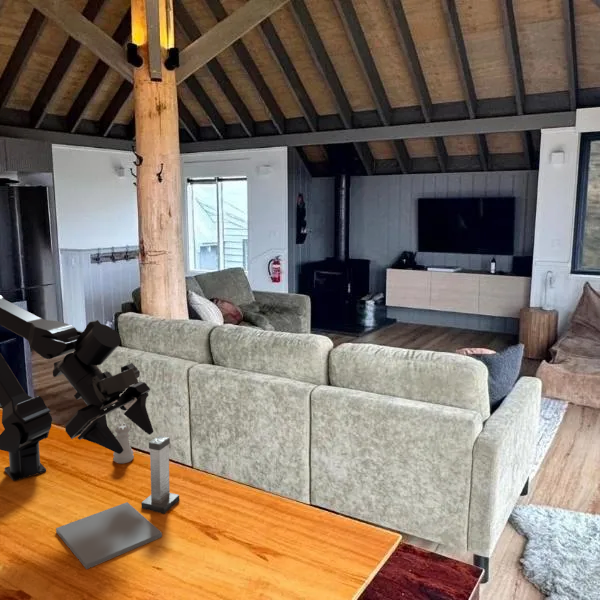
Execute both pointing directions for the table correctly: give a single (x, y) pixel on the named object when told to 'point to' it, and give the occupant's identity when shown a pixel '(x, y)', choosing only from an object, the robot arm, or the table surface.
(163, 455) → the tray topped pillar
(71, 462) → the table surface
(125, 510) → the plate
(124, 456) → the rook chess piece
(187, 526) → the table surface
